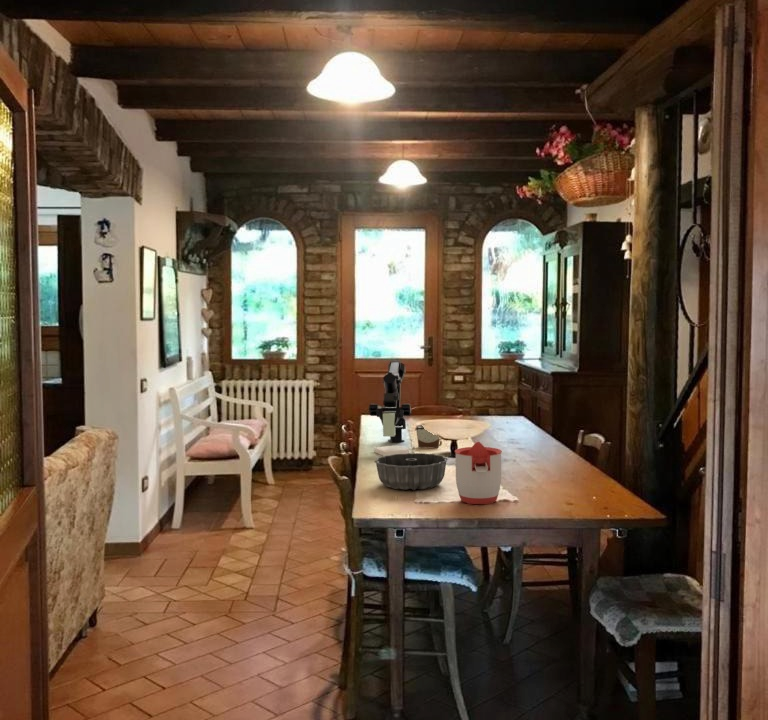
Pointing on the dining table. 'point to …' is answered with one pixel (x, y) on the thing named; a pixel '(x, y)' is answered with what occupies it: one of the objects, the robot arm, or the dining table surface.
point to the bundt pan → (411, 470)
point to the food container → (426, 438)
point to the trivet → (391, 450)
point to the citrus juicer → (478, 474)
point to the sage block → (388, 424)
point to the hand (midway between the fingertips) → (388, 424)
